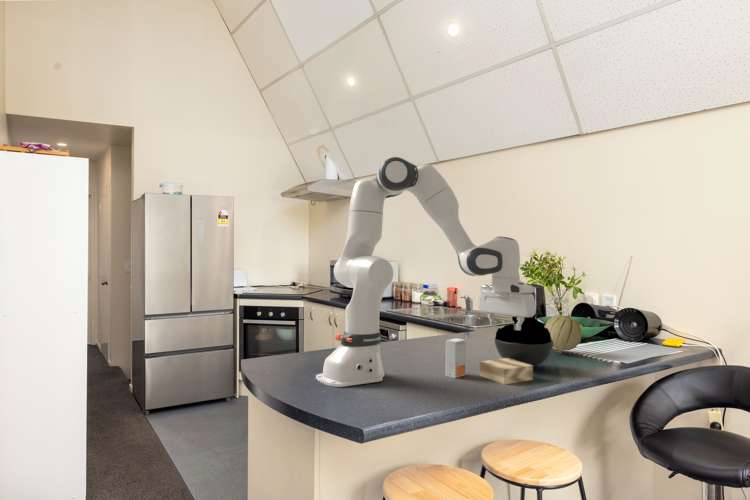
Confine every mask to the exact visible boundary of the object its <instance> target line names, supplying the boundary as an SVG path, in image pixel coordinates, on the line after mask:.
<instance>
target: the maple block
mask: <svg viewBox="0 0 750 500" xmlns="http://www.w3.org/2000/svg"><path fill="white" fill-rule="evenodd" d="M479 376H480V377H482V378H485V379H489V380H490V381H494V382H497V383H500V384H502V385H508V384H515V383H521V382H527V381H528V382H529V381H533V380H534V367H533V365H530V364H527V363H523V362H520V361H517V360H513V359H510V358H502V357H501V358H496V359H495V358H494V359H489V360H481V361H479Z"/></svg>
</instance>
